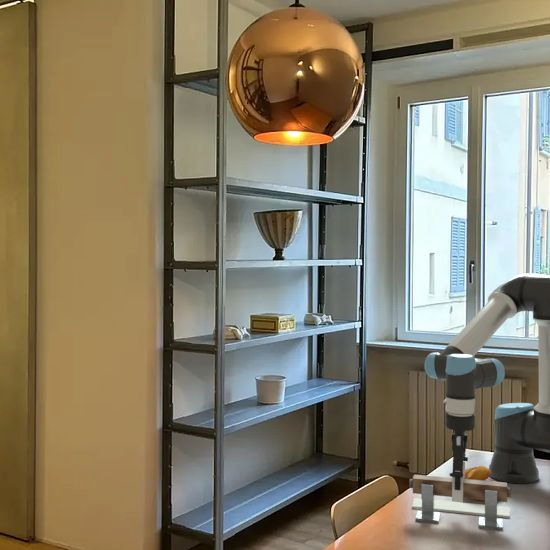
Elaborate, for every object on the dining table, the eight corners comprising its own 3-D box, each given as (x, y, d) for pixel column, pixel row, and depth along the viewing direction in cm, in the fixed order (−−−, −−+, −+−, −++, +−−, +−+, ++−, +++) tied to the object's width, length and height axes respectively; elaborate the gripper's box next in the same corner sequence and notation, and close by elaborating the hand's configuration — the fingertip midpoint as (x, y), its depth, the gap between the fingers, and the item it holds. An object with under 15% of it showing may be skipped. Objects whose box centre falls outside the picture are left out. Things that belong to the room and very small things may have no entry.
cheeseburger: (504, 503, 205) (495, 469, 205) (466, 509, 208) (458, 476, 208) (500, 491, 215) (492, 458, 215) (464, 497, 217) (456, 465, 217)
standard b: (502, 521, 192) (503, 484, 192) (502, 530, 186) (503, 492, 185) (479, 519, 194) (479, 482, 193) (478, 528, 187) (478, 489, 187)
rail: (510, 498, 190) (510, 483, 190) (511, 502, 186) (511, 487, 186) (410, 488, 197) (410, 474, 197) (408, 492, 194) (408, 478, 194)
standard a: (440, 515, 197) (440, 478, 196) (438, 523, 190) (438, 486, 190) (417, 512, 198) (418, 476, 198) (415, 521, 192) (415, 484, 192)
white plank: (509, 509, 201) (509, 507, 201) (510, 518, 194) (510, 516, 194) (414, 500, 209) (414, 497, 209) (411, 508, 202) (411, 506, 202)
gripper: (448, 403, 204) (446, 478, 205) (442, 422, 180) (440, 507, 181) (475, 405, 202) (474, 480, 202) (473, 424, 178) (472, 510, 179)
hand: (458, 493), depth 192 cm, fingers open, 13 cm apart
